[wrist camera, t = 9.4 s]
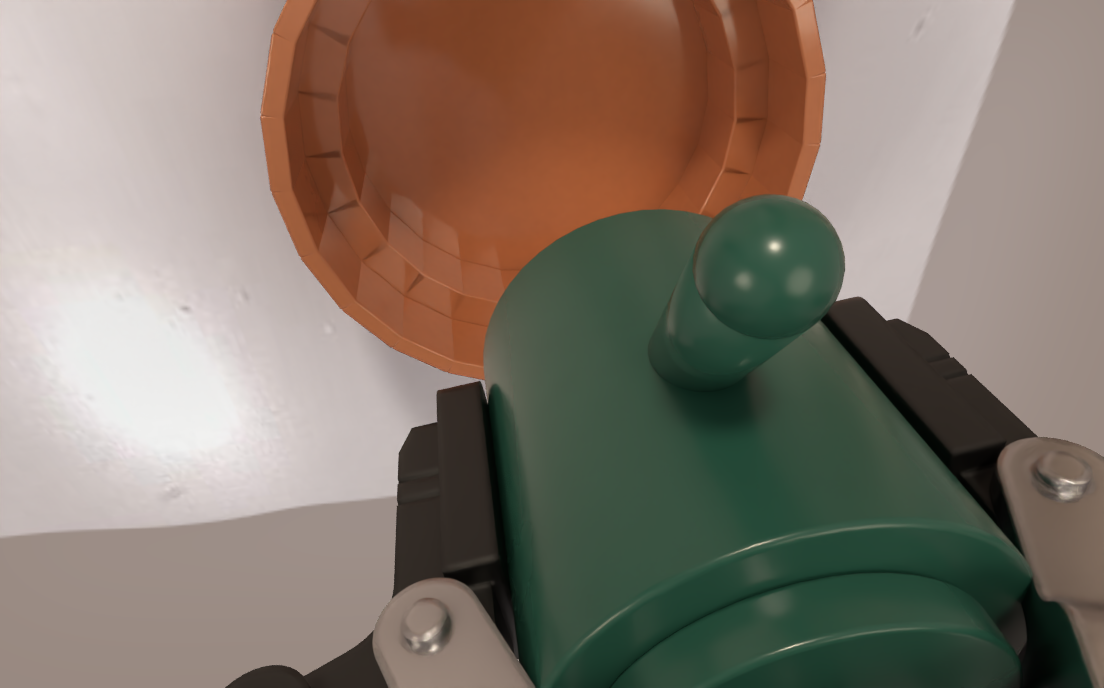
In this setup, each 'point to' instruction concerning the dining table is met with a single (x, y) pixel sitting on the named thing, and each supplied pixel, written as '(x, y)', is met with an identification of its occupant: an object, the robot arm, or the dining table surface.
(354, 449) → the dining table surface
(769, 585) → the kettle
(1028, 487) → the robot arm
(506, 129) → the bowl
